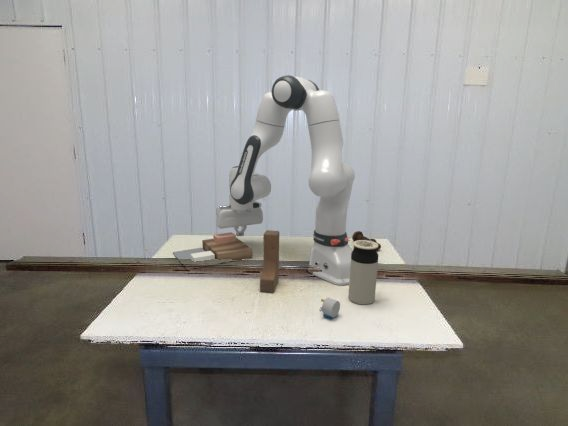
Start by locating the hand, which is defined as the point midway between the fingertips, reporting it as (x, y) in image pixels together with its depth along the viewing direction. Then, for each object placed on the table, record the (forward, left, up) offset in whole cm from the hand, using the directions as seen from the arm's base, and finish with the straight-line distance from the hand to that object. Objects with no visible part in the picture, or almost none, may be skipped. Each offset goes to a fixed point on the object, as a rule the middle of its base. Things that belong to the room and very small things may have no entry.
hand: (240, 235), depth 157 cm
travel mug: (-61, -14, -5) cm, 63 cm away
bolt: (-24, -50, -6) cm, 56 cm away
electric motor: (-64, +1, -5) cm, 64 cm away
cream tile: (-9, +20, -5) cm, 22 cm away
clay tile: (0, +7, -1) cm, 7 cm away
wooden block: (-40, +7, -5) cm, 41 cm away
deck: (-5, +8, -5) cm, 11 cm away
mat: (-5, +21, -5) cm, 22 cm away
